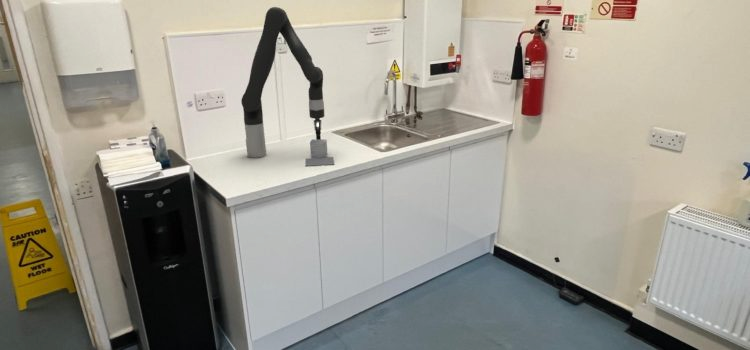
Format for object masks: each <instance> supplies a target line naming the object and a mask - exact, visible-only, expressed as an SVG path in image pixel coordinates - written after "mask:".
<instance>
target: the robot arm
mask: <svg viewBox="0 0 750 350" xmlns="http://www.w3.org/2000/svg"><path fill="white" fill-rule="evenodd" d="M264 18H265V19H264V23H263V29H262V33H261V36H260V39H259V42H258V44H257V47H256V51H255V53H254V57H253V60H252V63H251V68H250V74H249V80H248V82H247V83H248V84H247V86H246V88H245V91H244V93H243V95H242V97H241V99H240V100H241V101H240V102H241V105H242V109H243V124H244V130H245V145H246V154H247V158H253V159H258V158H264V157H265V156H267V147H266V137H265V129H264V116H263V115H264V114H263V103H262V95H263V90H264V87H265V84H266V82H267V80H268V77H269V76H270V73H271V70H272V68H273V64H274V62H275V57H276V50H277V42H278V37H279V34H281V36H282V37H283V39H284V40H285V42H286V44H287V46H288V49H289V51H290V52H291V54H292V56H293V58H294V60H296V62H297V63H298V65H299V66H300V67H299V68H300V69H301V71H302V74H303V75H304V77H305V78H306V80H307V81H308V82H309V88H308V112H309V113H308V114H309V118H310V119H314V120H313V125H314V127H313V128H314V131H315V133H314V134H315V137H316V139H321V133H322V132H321V131H322V119H323V118H325V102H324V93H323V87H324V86H323V84H324V72H323V70H322V69H321V68H320V67H318V66H315V64H314V63H313V58H312V55H311V54H310V53H309V51H308V49H307V48H306V47H305V45H304V44H303V42H302V40H301V39H300V38H299V36H298V34H297V33H296V31H295V30H294V27H293V26H292V24H291V22H290V19H289V16H288V14H287V12H286V11H285V10H284V9H283V8H282V7H278V6H272V7H270V8H269V9H268V10H267V12H266V13H265V17H264Z"/></svg>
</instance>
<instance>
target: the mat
mask: <svg viewBox="0 0 750 350" xmlns="http://www.w3.org/2000/svg"><path fill="white" fill-rule="evenodd" d="M334 158H335V157H334V156H329V157H324V158H311V157H308V158H307V157H306V158H305V163H304V165H305V167H318V166H319V167H321V166H322V165H324V166H335V160H334Z"/></svg>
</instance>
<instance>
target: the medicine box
mask: <svg viewBox="0 0 750 350" xmlns="http://www.w3.org/2000/svg"><path fill="white" fill-rule="evenodd" d="M327 141H328V140H327V139H324V138H322V139H315V138H314V139H311V140H310V142H309V146H310V149H309V150H310V158H324V157H327V156H328V144H327V143H328V142H327Z"/></svg>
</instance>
